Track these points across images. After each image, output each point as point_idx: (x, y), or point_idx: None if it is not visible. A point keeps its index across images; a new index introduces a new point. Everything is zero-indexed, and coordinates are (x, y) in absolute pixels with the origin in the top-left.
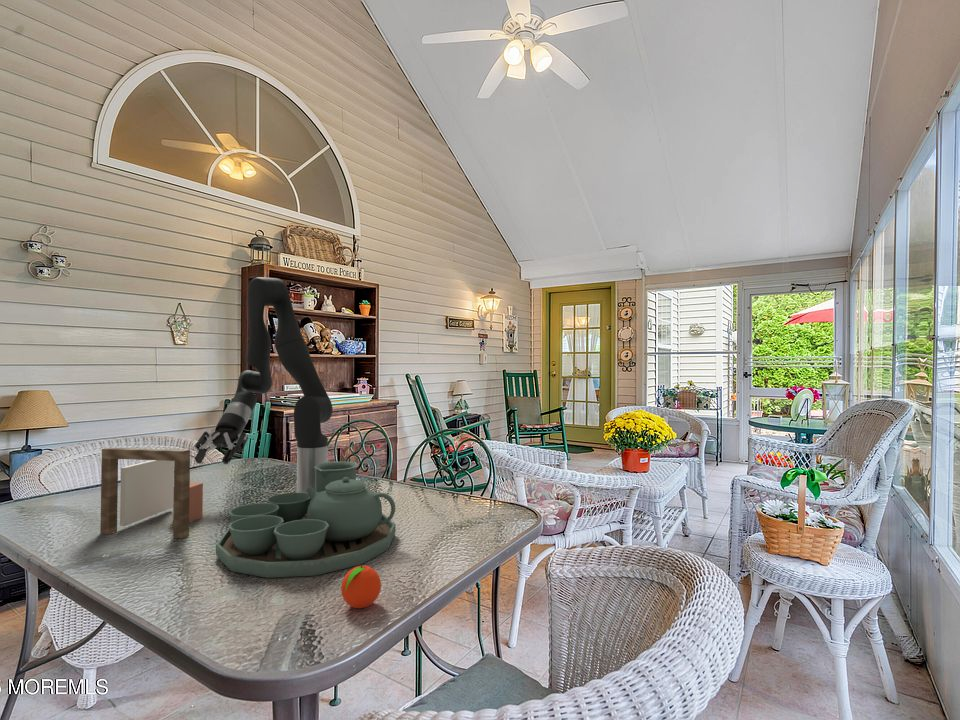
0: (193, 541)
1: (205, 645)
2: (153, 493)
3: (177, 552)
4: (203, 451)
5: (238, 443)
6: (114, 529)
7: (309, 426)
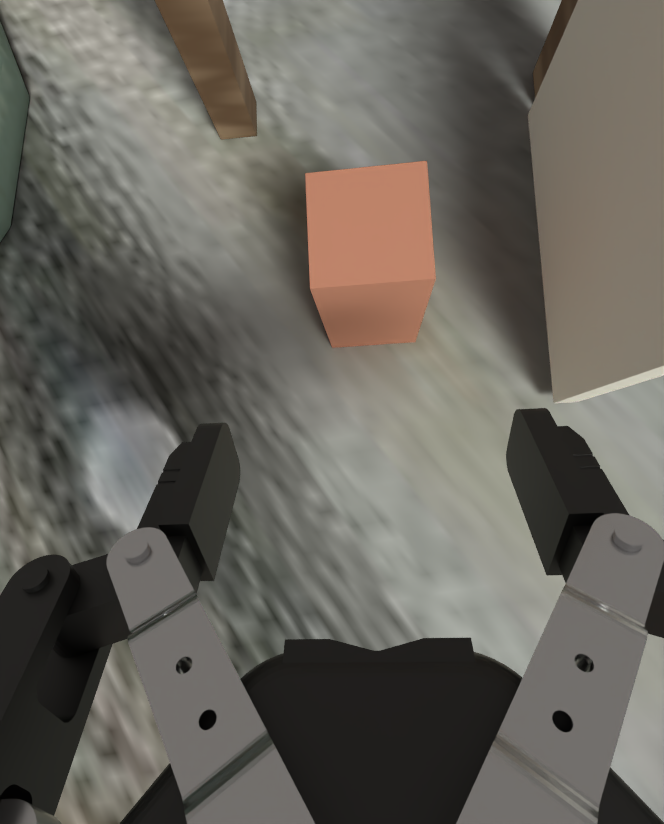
0: (161, 92)
1: None
2: (590, 215)
3: (144, 2)
4: (557, 525)
5: (9, 633)
6: (538, 86)
7: None
